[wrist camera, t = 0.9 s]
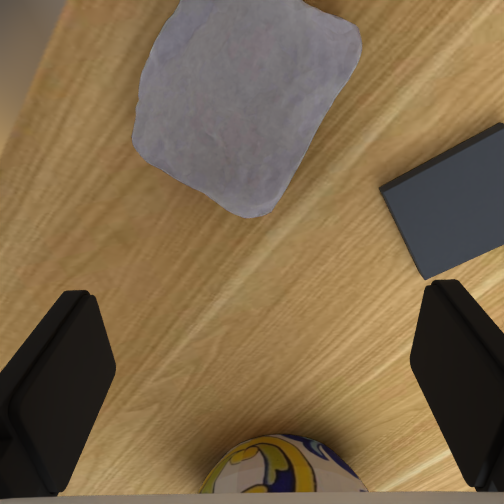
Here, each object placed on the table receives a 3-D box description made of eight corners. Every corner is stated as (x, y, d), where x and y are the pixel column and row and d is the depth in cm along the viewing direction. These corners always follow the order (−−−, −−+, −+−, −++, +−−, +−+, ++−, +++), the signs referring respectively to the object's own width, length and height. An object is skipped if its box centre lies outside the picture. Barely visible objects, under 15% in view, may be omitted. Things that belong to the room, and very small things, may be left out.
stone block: (143, 146, 26) (271, 216, 26) (105, 155, 21) (260, 239, 21) (212, -49, 21) (369, 39, 21) (183, -90, 16) (381, 22, 17)
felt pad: (378, 187, 25) (382, 192, 24) (499, 122, 23) (509, 124, 22) (419, 273, 28) (425, 280, 27) (529, 222, 26) (538, 228, 25)
